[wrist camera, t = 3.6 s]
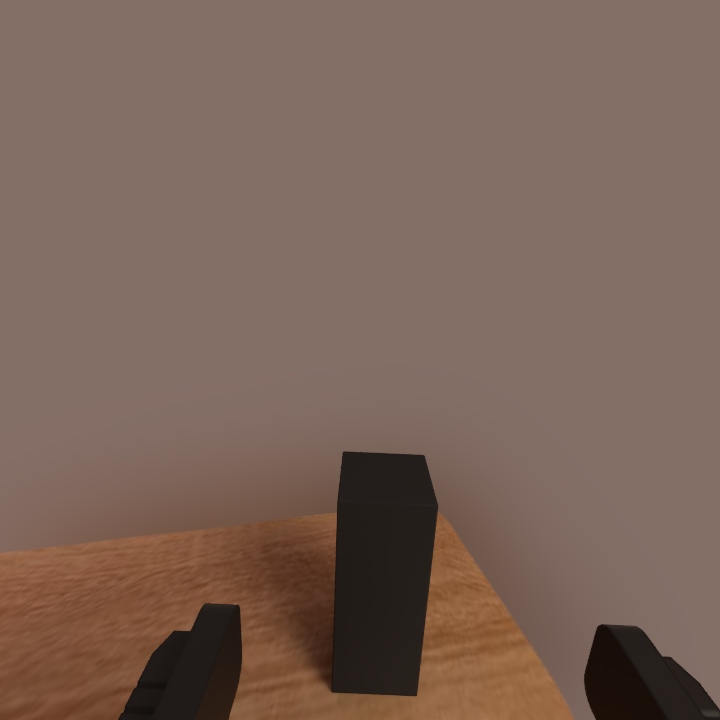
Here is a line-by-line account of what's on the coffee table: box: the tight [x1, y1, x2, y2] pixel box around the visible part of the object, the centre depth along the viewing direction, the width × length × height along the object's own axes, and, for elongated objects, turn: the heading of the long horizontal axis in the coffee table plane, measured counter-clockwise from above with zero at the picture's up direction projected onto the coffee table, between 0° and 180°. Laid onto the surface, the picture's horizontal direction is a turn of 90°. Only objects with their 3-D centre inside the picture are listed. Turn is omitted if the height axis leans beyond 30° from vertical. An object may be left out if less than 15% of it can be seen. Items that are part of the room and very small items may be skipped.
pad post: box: [332, 452, 438, 696], centre depth 22 cm, size 5×5×12 cm
